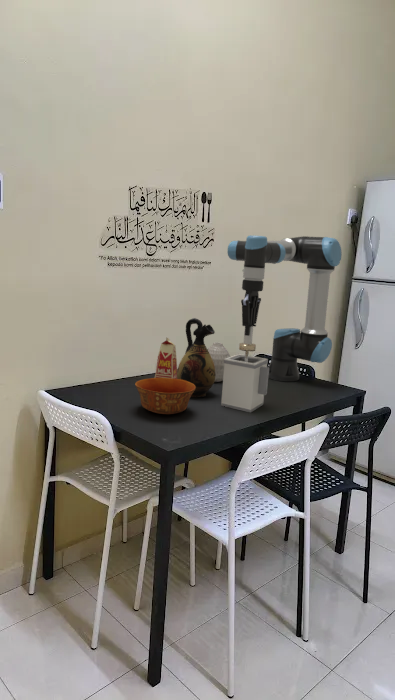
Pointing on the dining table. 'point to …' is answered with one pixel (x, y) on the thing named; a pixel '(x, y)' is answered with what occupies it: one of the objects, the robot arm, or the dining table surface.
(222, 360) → the vase
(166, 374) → the milk carton
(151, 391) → the bowl
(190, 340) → the ceramic jug
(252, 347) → the plunger
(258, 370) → the box
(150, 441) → the dining table surface
